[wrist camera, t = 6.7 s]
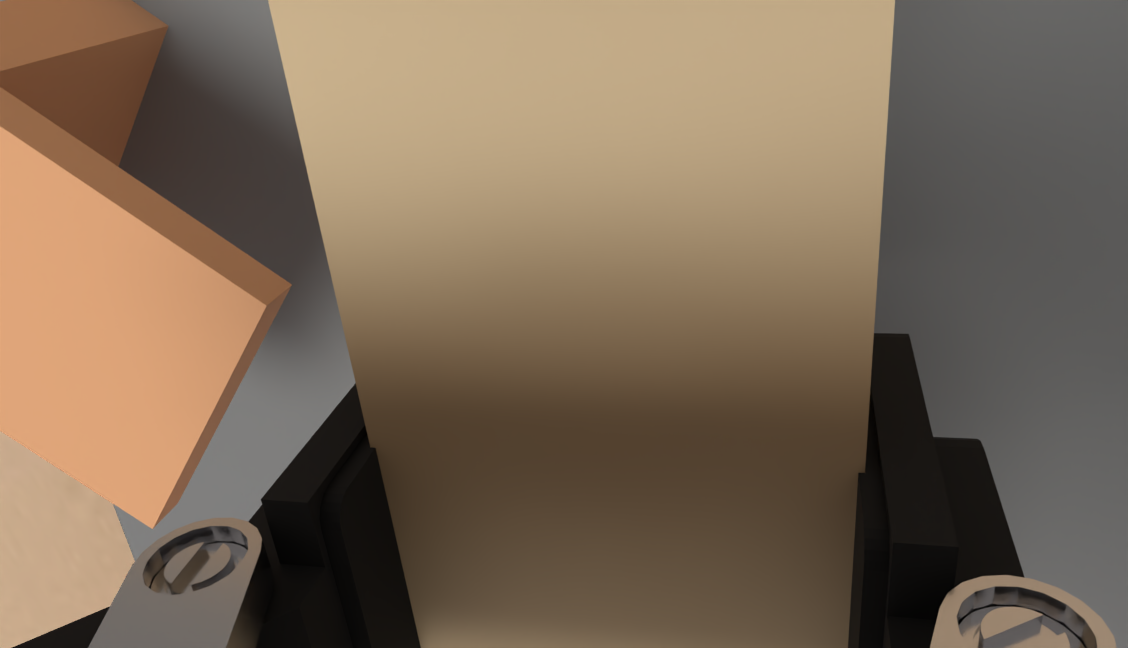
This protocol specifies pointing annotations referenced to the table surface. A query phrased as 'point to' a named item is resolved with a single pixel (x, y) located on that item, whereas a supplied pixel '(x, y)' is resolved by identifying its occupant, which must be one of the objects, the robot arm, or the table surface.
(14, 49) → the keeper
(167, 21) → the board
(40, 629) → the table surface
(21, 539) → the table surface
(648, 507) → the link
